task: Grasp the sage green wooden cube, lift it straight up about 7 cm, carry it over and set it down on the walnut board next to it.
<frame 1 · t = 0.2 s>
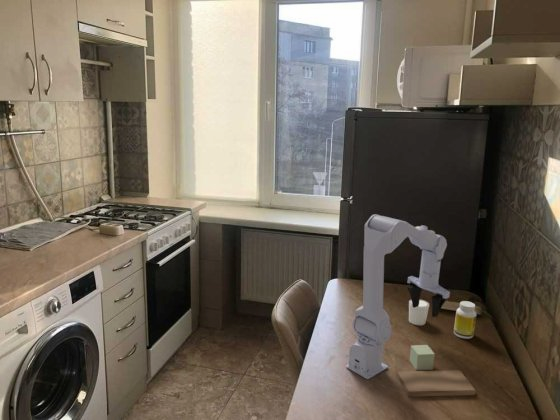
hand: (425, 311, 148), 10 cm above the table, tool pointing down, fingers open, 7 cm apart
pill bottle: (463, 335, 154), on the table
walnut board: (434, 385, 126), on the table
sage cube: (420, 365, 136), on the table
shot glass: (416, 321, 163), on the table
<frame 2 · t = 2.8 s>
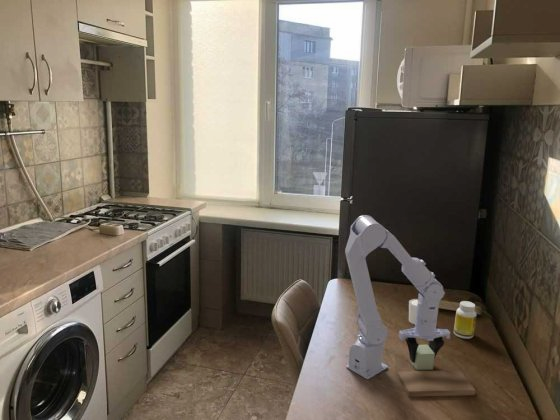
hand: (421, 360, 136), 1 cm above the table, tool pointing down, fingers closed on sage cube, 5 cm apart
sage cube: (421, 364, 136), on the table, touching gripper
everything else where it was.
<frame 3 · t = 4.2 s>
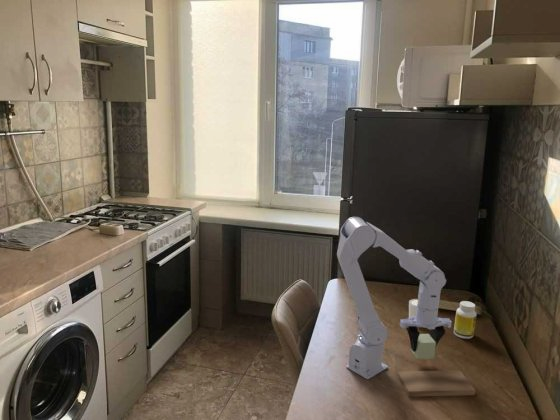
hand: (422, 349, 135), 5 cm above the table, tool pointing down, fingers closed on sage cube, 5 cm apart
sage cube: (422, 353, 135), point 3 cm above the table, touching gripper
everything else where it was.
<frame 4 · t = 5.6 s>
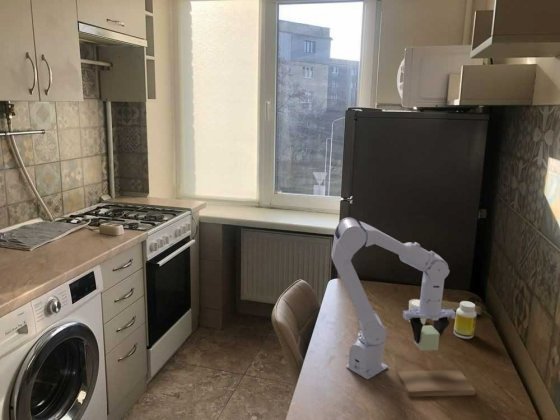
hand: (425, 341, 133), 8 cm above the table, tool pointing down, fingers closed on sage cube, 5 cm apart
sage cube: (425, 345, 133), point 7 cm above the table, touching gripper
everything else where it was.
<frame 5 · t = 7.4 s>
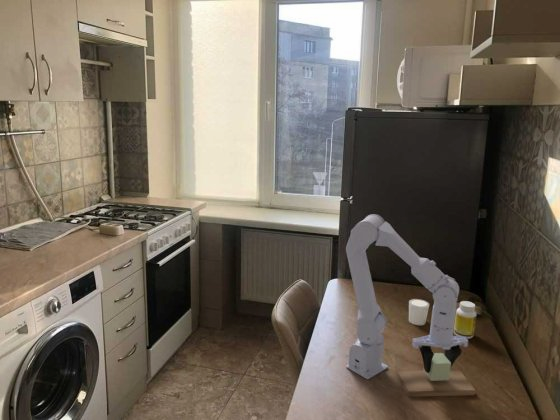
hand: (436, 370, 125), 5 cm above the table, tool pointing down, fingers closed on sage cube, 5 cm apart
sage cube: (435, 374, 126), point 3 cm above the table, touching gripper
everything else where it was.
when the fingers open (4 cm above the table, at t = 8.7 s): sage cube drops 1 cm, resting on walnut board.
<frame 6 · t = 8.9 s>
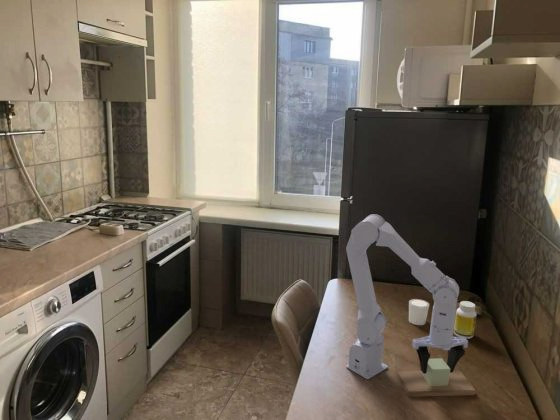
hand: (436, 370, 125), 4 cm above the table, tool pointing down, fingers open, 7 cm apart
sage cube: (435, 380, 126), point 1 cm above the table, touching walnut board
everything else where it was.
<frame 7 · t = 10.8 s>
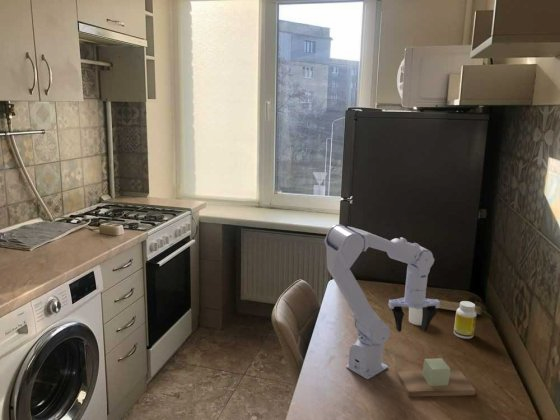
hand: (411, 329, 137), 9 cm above the table, tool pointing down, fingers open, 7 cm apart
nothing on the table moved.
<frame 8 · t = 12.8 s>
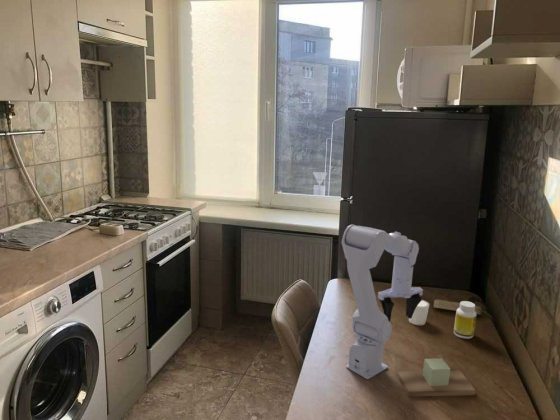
hand: (398, 318, 144), 9 cm above the table, tool pointing down, fingers open, 7 cm apart
nothing on the table moved.
at the end: sage cube 0.1 cm off-centre on the walnut board, point 1.5 cm above the walnut board's base; sage cube tilted 0°; the gripper is holding nothing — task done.
